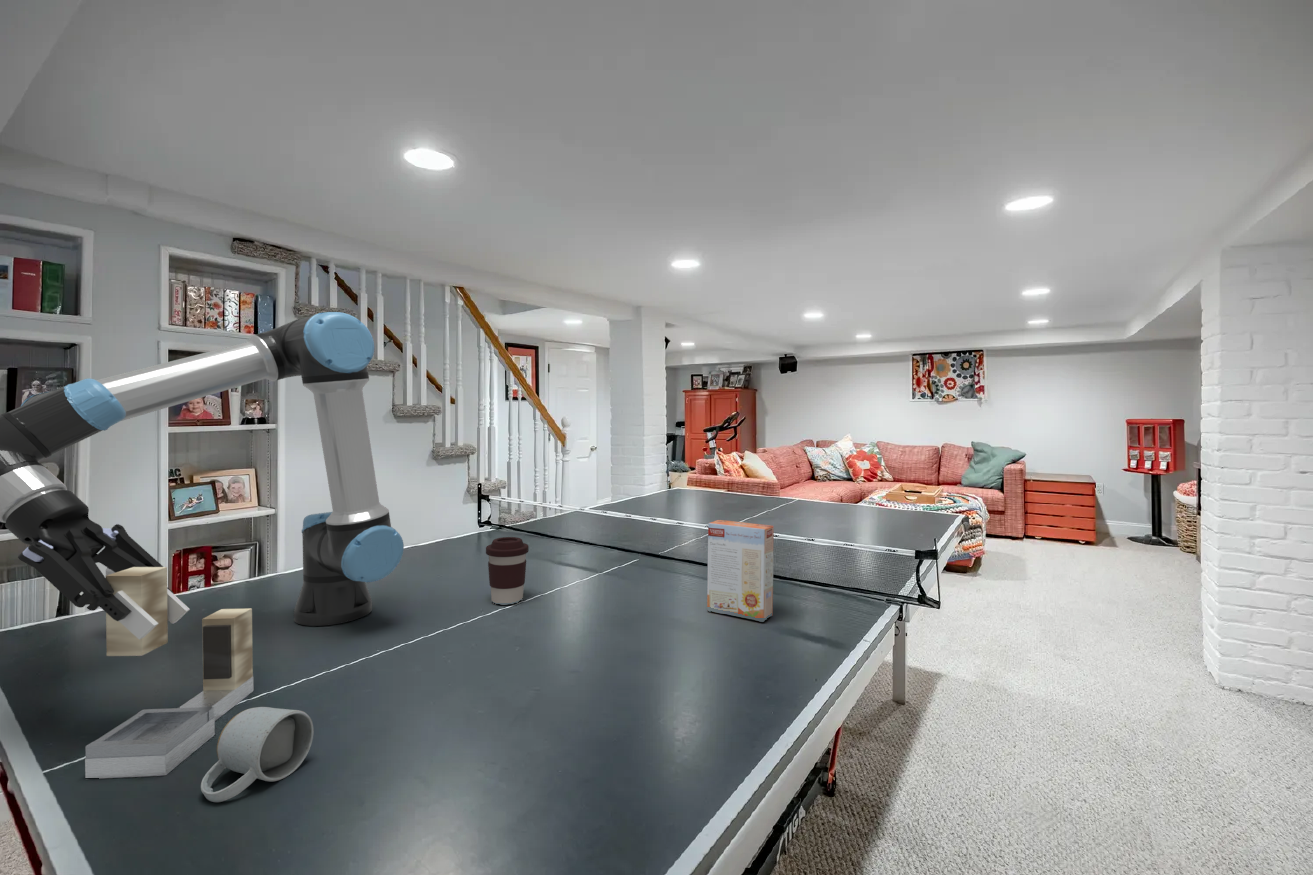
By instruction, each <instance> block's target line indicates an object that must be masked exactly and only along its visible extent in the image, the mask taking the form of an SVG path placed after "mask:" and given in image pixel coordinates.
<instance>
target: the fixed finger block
mask: <svg viewBox="0 0 1313 875" xmlns="http://www.w3.org/2000/svg"><path fill="white" fill-rule="evenodd" d="M201 625H202V626H201V629H202V630H201V631H202V640H201V641H202V680H203V681H202V686H203V687H202V691H209V690H235V689H236V688H238V687H239V686H241V685H242V684H243V683H245V682H246V681H247V680H249V679H250V678H251V677H253V678H254V673H253V672H254V671H253V668H254V665H253V664H254V663H253V661H254V660H253V658H254V656H253V653H254V652H253V608H249V607H248V608H221V609H219V610H217V611H215V612H213V613H211V614H209V615H207V616H205V617H203V618H202V619H201Z"/></svg>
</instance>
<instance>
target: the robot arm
mask: <svg viewBox="0 0 1313 875" xmlns="http://www.w3.org/2000/svg"><path fill="white" fill-rule="evenodd" d="M374 341H375V340H374V338H373V336H372V333H371V331H370V330H369V328H368V327H367V326H366V324H365V323H363V322H362V321H361V320H360V319H358V318H357V317H355V316H353V315H351V314H348V313H345V312H342V311H341V312H339V311H327V312H319V313H315V314H314V315H311V316H310V315H309V316H306V317H305V316H304V317H300V318H297V319H295V320H292V321H290V322H287V323H285V324H283V325H280V326H278V327H275V328H273V329H270V330H267V331H265V332H264V331H263V332H260V333H257V334H252V335H250V336H249V338H248V340H247V341H245V342H243V343H238V344H235V345H231V346H228V347H222V348H219V349H214V350H211V351H207V352H203V353H199V354H195V355H191V356H187V357H182V358H179V359H174V360H171V361H167V362H163V363H158V364H155V365H151V366H147V367H143V368H139V369H135V370H130V371H127V372H123V373H120V374H115V375H111V376H108V377H102V378H99V379H94V378H84V379H81V380H79V381H75V382H73V383H68V384H66V385H65V386H63V387H61V388H59V389H56V390H52V391H44V392H40V393H39V392H38V393H37V394H33V395H31V396H29V397H28V398H27V399H25V400H24V401H23V402H22V403H21V405H20V406H18V407H16V408H14V409H12V410H10V411H8V412H7V411H6V412H4V413H2V414H1V413H0V523H2V524H3V523H4V526H5V528H6V529H7V530H8V531H10V532H11V533H12V535H13V536H14V537H16V538H17V539H18V540H19V541H20V542H21V543H22V544H25V545H28V546H27V547H26V548H25V549H24V550H23V551H22V552H21V553H20V554H19V555H18V556H17V558H18V560H19V561H22V562H23V563H25V564H27V565H28V566H30V567H32V568H34V569H35V570H36V571H38V573H40V574H41V575H42V576H43V577H44V578H45V579H46V580H47V581H48V582H49V583H50V584H51V585H52V586H54V588H56V589H57V591H59V593H61V594H62V595H63V596H64V597H65V598H66V599H67V600H68V601H69V602H70V603H71V604H73V605H74V606H75V607H76V608H84V607H86V606H87V607H86V610H88V611H92V612H93V611H96V610H97V609H98V608H100V609H101V610H103V611H104V612H105V614H106V613H107V614H108V615H109V616H110V617H112V618H113V619H114V620H116V621H119V622H120V623H121V624H122V625H124V626H125V627H126V628H127V629H128V630H129V631H130V632H131V633H132V634H134V635H135V636H136V637H137V638H138V639H139V640H140V639H142V638H144V637H145V636H146V635H147V634H148V633H149V632H150V631H151V630H152V629H153V628H154V627H155V626H156V625H158V624H159V623H157V622H156V621H155V620H154V619H153V618H152V617H151V616H150V615H149V614H148V613H146V612H145V611H144V610H143V609H142V608H141V607H140V606H139V605H138V604H137V603H136V602H134V601H133V600H132V599H131V598H130V597H129V596H128V595H127V594H126V593H125V592H123V591H122V590H121V591H119V592H117V593H116V594H115V595H113V593H114V590H113V588H112V587H111V585H110V584H109V582H108V581H107V579H106V576H105V575H104V574H103V572H102V571H101V569H100V568H99V566H98V565H97V563H99V564H101V565H103V566H104V567H106V569H107V568H109V569H111V570H112V571H114V572H115V573H116V572H119V571H122V570H126V569H129V568H132V567H164V566H163V565H162V564H161V563H160V562H159V561H158V560H156V558H154V556H152V555H151V554H150V553H149V552H148V551H147V550H146V549H144V548H143V547H142V546H141V545H140V544H138V543H137V541H135V540H134V539H133V538H132V537H131V536H130V535H129V534H128V532H127V531H126V529H125V526H123V525H121V524H119V523H116V524H114V525H113V526H112V527H110V528H109V527H102V526H101V525H100V524H99V523H96V522H95V521H92V520H91V519H90V518H89V511H90V509H89V506H88V505H87V504H86V503H85V502H83V500H81V499H80V498H79V497H78V496H77V495H76V494H75V493H73V491H71V490H68V488H67V485H66V484H65V483H63V482H62V481H61V480H60V479H59V478H58V477H57V476H55V475H54V474H53V473H52V472H51V470H49V469H48V468H46V467H45V466H44V464H42V463H41V462H40V461H42V460H44V459H47V458H49V457H51V456H52V455H54V454H56V453H59V452H60V451H62V450H64V449H67V448H69V447H71V446H73V445H76V444H78V443H80V442H81V441H83V440H85V439H87V438H90V437H92V436H94V435H96V434H98V433H101V432H103V431H107V430H109V428H110V427H113V426H114V425H115V424H117V423H120V422H123V421H127V420H131V419H133V418H136V417H139V416H143V415H146V414H151V413H153V412H156V411H159V410H160V411H161V410H164V409H167V408H170V407H174V406H177V405H180V404H184V403H187V402H188V403H189V402H191V401H194V400H197V399H200V398H203V397H204V398H205V397H207V396H211V395H215V394H218V393H221V392H224V391H228V390H231V389H232V390H233V389H235V388H238V387H241V386H245V385H248V384H251V383H254V382H259V381H262V380H268V381H269V382H277V381H279V380H283V379H288V378H292V377H299V376H300V377H301V380H302V381H301V382H302V386H304V387H305V388H306V389H307V390H310V391H311V393H312V394H313V399H314V405H315V410H316V417H317V422H318V429H319V435H320V440H321V441H320V442H321V447H322V453H323V459H324V465H325V466H324V467H325V472H326V477H327V483H328V489H329V496H330V501H331V508H332V510H331V511H328V512H319V513H312V514H307V515H306V516H305V517H304V518H303V520H302V529H301V533H302V534H301V535H302V575H303V577H302V586H301V589H300V592H299V595H298V597H297V600H296V604H295V606H294V609H293V621H294V622H295V623H296V624H297V625H301V626H308V627H309V626H310V627H317V626H318V627H319V626H320V627H321V626H333V625H337V624H343V623H348V622H351V621H355V620H358V619H361V618H363V617H365V616H367V615H369V614H370V613H371V612H372V610H373V600H372V596H371V593H370V592H369V588H368V586H367V583H373V582H377V581H381V580H383V579H384V578H386V577H388V576H389V575H390V574H392V573H393V572H394V570H396V568H397V566H398V565H399V564H400V562H401V560H402V558H403V554H404V548H405V547H404V540H403V537H402V535H401V534H400V532H398V530H396V529H395V528H393V527H392V522H391V516H390V510H389V508H387V507H386V506H384V505H383V504H382V503H381V502H380V498H379V490H378V486H377V479H376V471H375V464H374V458H373V453H372V446H371V440H370V439H371V438H370V433H369V426H368V421H367V420H368V418H367V412H366V404H365V400H364V399H365V398H364V393H363V389H364V387H365V386H366V385H367V383H368V382H369V381H370V375H369V370H368V365H369V364H370V363H371V361H372V359H373V358H374V355H375V342H374ZM81 593H82V594H81ZM190 610H191V609H190V608H189V607H188V606H187V605H186V604H185V603H184V602H183V601H182V600H181V599H179V598H178V597H177V596H176V595H175V593H174V591H173V590H172V589H170V588H169V587H168V586H167V622H170V624H172V625H173V624H175V623H177V622H178V621H179V620H180V619H182V618H183V616H184V615H186V614H187V613H189V611H190Z"/></svg>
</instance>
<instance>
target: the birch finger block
mask: <svg viewBox="0 0 1313 875" xmlns="http://www.w3.org/2000/svg"><path fill="white" fill-rule="evenodd" d="M105 578H106V579H107V581H108V582H109V584H110V585H111V587H112V588H113V590H114V593H113V595H115V594H116V593H117V592H119V591H121V590H122V591H123V592H125V593H126V594H127V595H128V596H129V597H130V598H131V599H132V600H133V601H134V602H136V603H137V604H138V605H139V606H140V607H141V608H142V609H143V610H144V611H145V612H146V613H148V614H149V615H150V616H151V617H152V618H153V619H154V620H155V621H156V622H157V623H159V624H158V625H156V626H155V627H154V628H153V629H152V630H151V631H150V632H149V633H148V634H147V635H146V636H145V637H144V638H142V639H140V640H139V639H138V638H137V637H136V636H135V635H134V634H132V633H131V632H130V631H129V630H128V629H127V628H126V627H125V626H124V625H122V624H121V623H120V622H119V621H116V620H114V619H113V618H112V617H110V616H109V615H108V614H107V613H106V612H105V620H106V621H105V624H106V625H105V628H106V629H105V631H106V634H105V637H106V657H136V656H137V657H141V656H144V655H147V654H148V653H150V652H153V651H154V650H157V649H158V648H160V647H163V646H164V645H166V644H168V640H169V638H168V637H169V636H168V635H169V634H168V630H169V629H168V627H169V626H168V622H169V621H168V620H167V587H168V567H167V566H163V567H132V568H129V569H126V570H122V571H119V572H116V573H113V574H110V575H106V574H105Z"/></svg>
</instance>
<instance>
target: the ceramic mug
mask: <svg viewBox="0 0 1313 875" xmlns="http://www.w3.org/2000/svg"><path fill="white" fill-rule="evenodd" d="M313 740H314V723H313V720H312V718H311V717H310V716H309V714H307V712H305V711H303V710H298V709H288V708H286V709H285V708H276V707H269V706H258V707H250V708H248V709H247V708H246V709H245V710H242V711H239V713H237V714H236V715H234V716H233V717H232V718H231V719H229V721H228V722H227V723H226V725H225V726H224V727H223V729H222V730H221V733H220V734H219V737H218V739H217V743H216V756H217V759H218V761H217V762H215V763H214V764H213V765H212V766H211V767H210V769H209V770H207V772H206V773H205V775H204V776H203V777H202V780H201V783H200V791H201V792H202V795H204V797H205V798H206V800H207V801H209V802H213V803H221V802H225V801H228V800H230V799H232V798H234V797H235V796H238V795H239V794H240V793H242V792H243V791H245V790H246V789H247V788H248V787H249V786H251V785H252V784H253V783H254V782H255V781H256V780H257V779H258V780H261V781H265V782H277V781H280V780H282V779H285V778H287V777H289V775H291V774H293V773H294V772H295V771H296V770H298V768H299V767H300V766H301V765H302V763H303V762H304V760H305V759H306V757H307V755H308V753H309V751H310V749H311V746H312V743H313ZM226 769H227V770H230V771H232V772H236V773H240V774H243V775H242V776H241V777H240V778H238V779H237V780H236V781H234V782H233V783H231V784H230V785H228V786H226V787H224V788H222V789H220V790H217V791H214V788H212V785H213V783H214V782H215V780H217V778H218V777H219V776H220V775H221V774H222V773H223V772H224V771H225V770H226Z"/></svg>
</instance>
